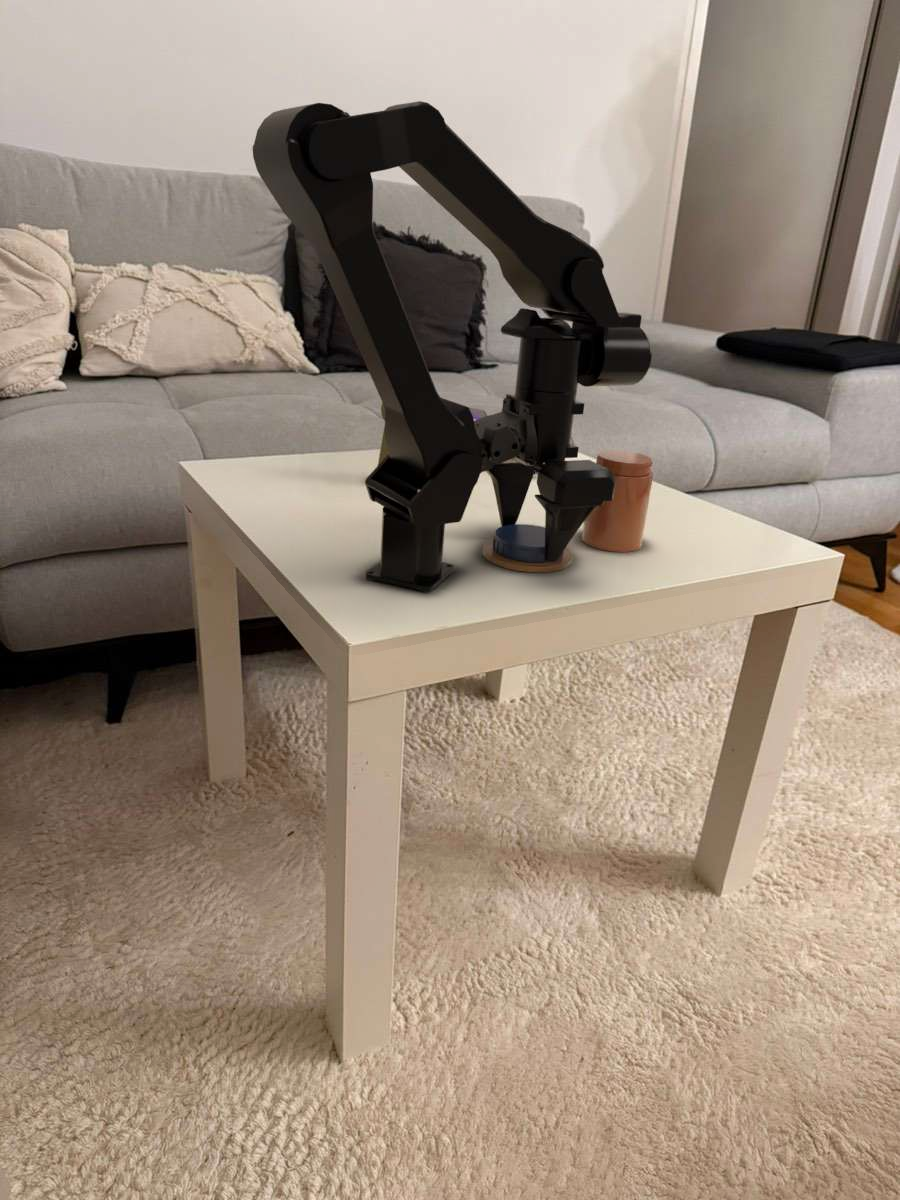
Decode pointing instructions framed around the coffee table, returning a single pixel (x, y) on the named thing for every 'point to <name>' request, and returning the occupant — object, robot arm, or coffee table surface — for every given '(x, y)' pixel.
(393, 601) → the coffee table surface
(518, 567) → the coaster
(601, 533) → the jar
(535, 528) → the jar lid
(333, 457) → the coffee table surface
